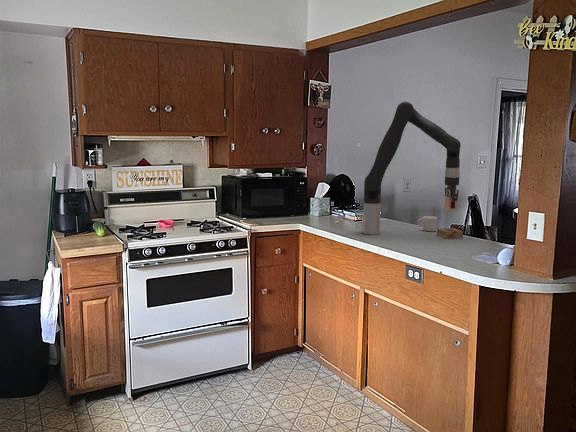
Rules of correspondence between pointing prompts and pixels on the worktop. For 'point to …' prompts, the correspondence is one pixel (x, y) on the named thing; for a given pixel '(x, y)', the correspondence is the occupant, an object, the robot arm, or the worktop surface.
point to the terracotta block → (449, 203)
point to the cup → (428, 223)
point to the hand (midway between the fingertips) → (450, 207)
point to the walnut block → (449, 233)
